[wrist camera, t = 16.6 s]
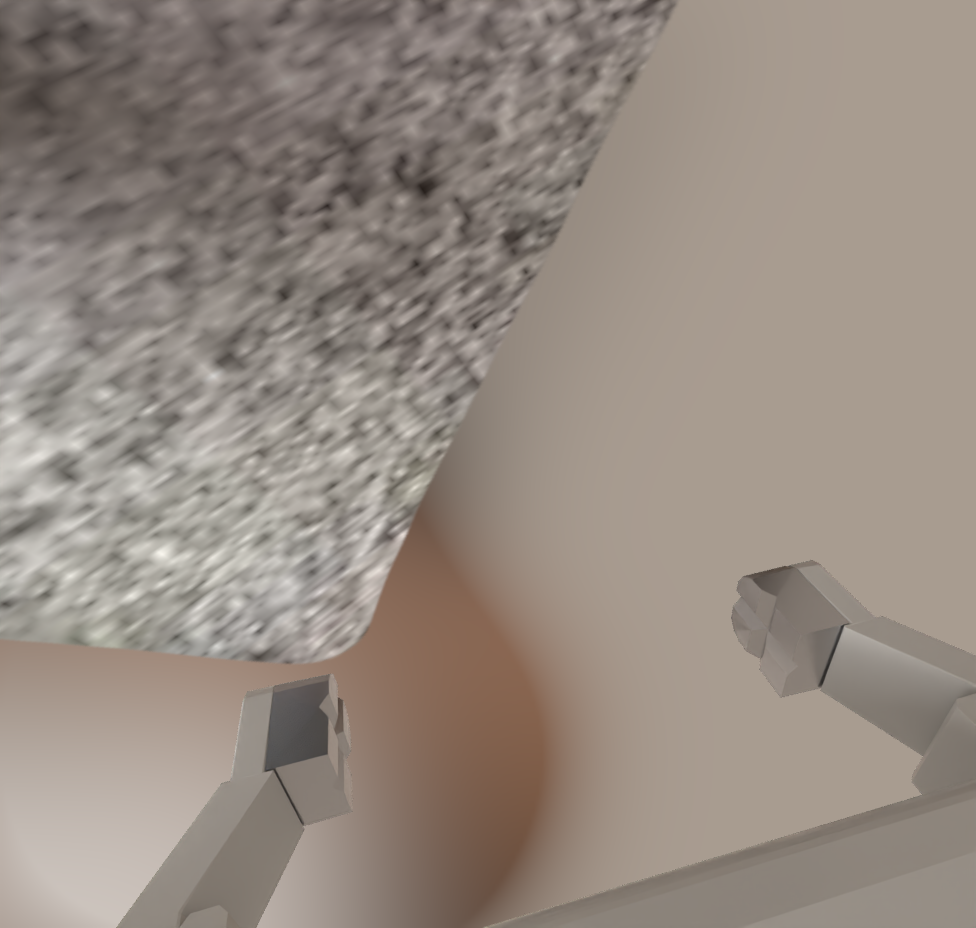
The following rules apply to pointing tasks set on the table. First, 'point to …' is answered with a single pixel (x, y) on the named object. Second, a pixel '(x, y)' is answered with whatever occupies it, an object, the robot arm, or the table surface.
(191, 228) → the table surface
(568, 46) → the table surface
